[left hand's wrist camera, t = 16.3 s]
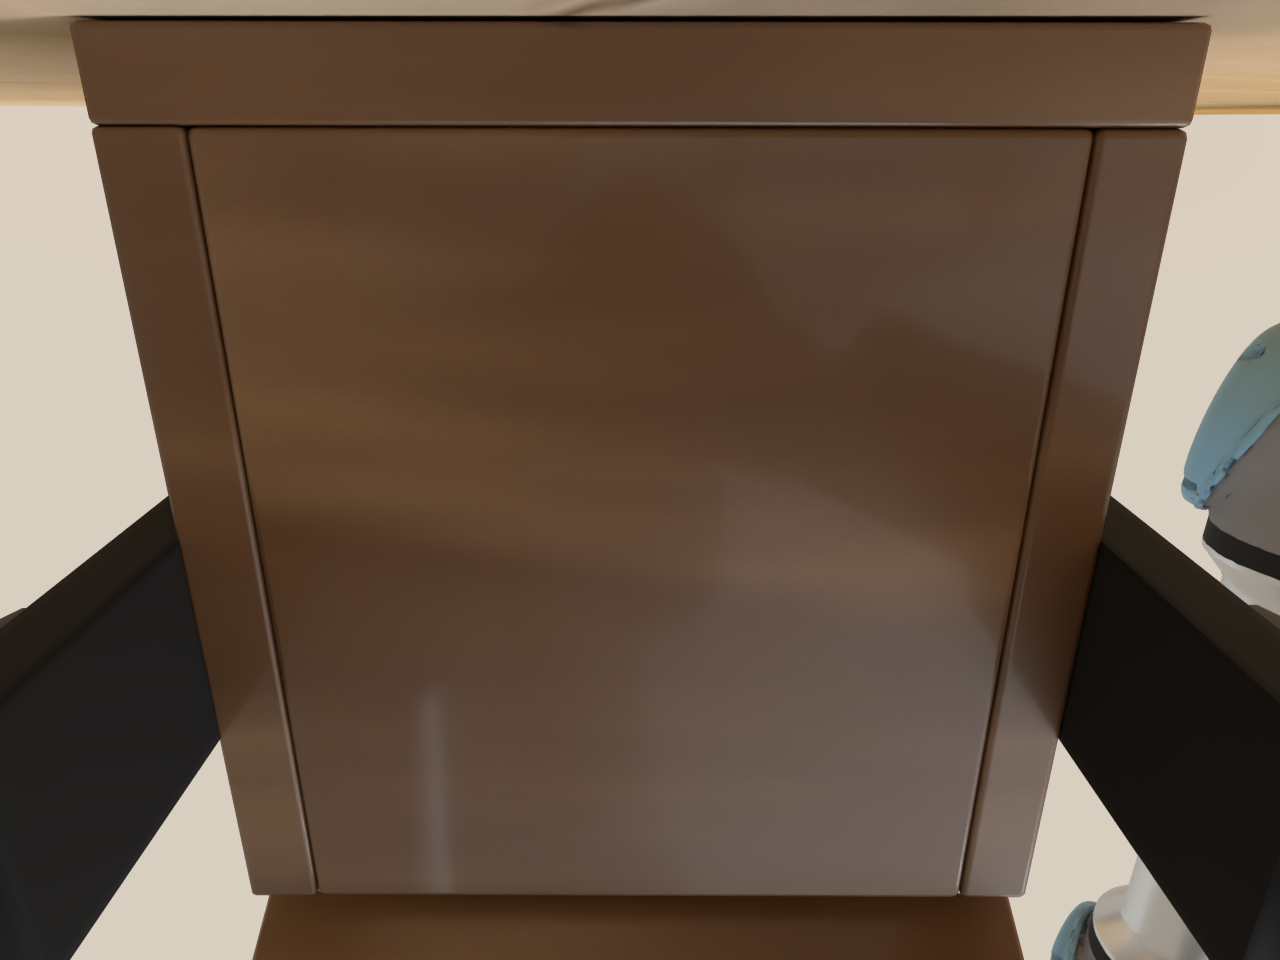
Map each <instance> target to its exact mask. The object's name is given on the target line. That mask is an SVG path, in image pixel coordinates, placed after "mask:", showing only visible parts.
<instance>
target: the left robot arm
mask: <svg viewBox="0 0 1280 960" xmlns="http://www.w3.org/2000/svg"><path fill="white" fill-rule="evenodd" d="M1058 738H1059V740H1060V741H1061V743H1062V744H1063V746H1064V747H1065V749H1066V750H1067V751H1068V753H1069V755H1070V756H1071V757H1072V759H1073V760H1074V762H1075V763H1076V765H1077V766H1078V768H1079V769H1080V771H1081V772H1082V774H1083V775H1084V777H1085V778H1086V780H1087V781H1088V782H1089V784H1090V785H1091V787H1092V788H1093V790H1094V791H1095V793H1096V794H1097V796H1098V797H1099V799H1100V800H1101V801H1102V803H1103V805H1104V806H1105V807H1106V809H1107V810H1108V812H1109V813H1110V815H1111V816H1112V818H1113V819H1114V821H1115V822H1116V824H1117V825H1118V827H1119V828H1120V830H1121V831H1122V832H1123V834H1124V835H1125V837H1126V838H1127V840H1128V841H1129V843H1130V844H1131V846H1132V847H1133V849H1134V850H1135V852H1136V853H1137V854H1138V856H1139V857H1140V859H1141V860H1142V862H1143V863H1144V865H1145V866H1146V868H1147V869H1148V871H1149V872H1150V874H1151V875H1152V877H1153V878H1154V880H1155V881H1156V882H1157V884H1158V885H1159V887H1160V888H1161V890H1162V891H1163V893H1164V894H1165V896H1166V897H1167V899H1168V900H1169V902H1170V903H1171V905H1172V906H1173V907H1174V909H1175V910H1176V912H1177V913H1178V915H1179V916H1180V918H1181V919H1182V921H1183V922H1184V924H1185V925H1186V927H1187V928H1188V930H1189V931H1190V932H1191V934H1192V935H1193V937H1194V938H1195V940H1196V941H1197V943H1198V944H1199V946H1200V947H1201V949H1202V950H1203V952H1204V953H1205V955H1206V956H1207V957H1208V959H1209V960H1280V615H1277V614H1275V613H1273V612H1271V611H1269V610H1267V609H1265V608H1263V607H1261V606H1259V605H1248V604H1247V603H1246V602H1244V601H1243V600H1242V599H1241V598H1239V597H1238V596H1237V595H1235V594H1234V593H1233V592H1232V591H1230V590H1229V589H1228V588H1227V587H1225V586H1224V585H1223V584H1222V583H1220V582H1219V581H1218V580H1216V579H1215V578H1214V577H1213V576H1211V575H1210V574H1209V573H1208V572H1206V571H1205V570H1204V569H1203V568H1201V567H1200V566H1199V565H1197V564H1196V563H1195V562H1194V561H1193V560H1191V559H1190V558H1189V557H1187V556H1186V555H1185V554H1184V553H1182V552H1181V551H1180V550H1179V549H1177V548H1176V547H1175V546H1174V545H1172V544H1171V543H1170V542H1168V541H1167V540H1166V539H1165V538H1163V537H1162V536H1161V535H1160V534H1158V533H1157V532H1156V531H1155V530H1153V529H1152V528H1151V527H1150V526H1148V525H1147V524H1146V523H1145V522H1143V521H1142V520H1141V519H1139V518H1138V517H1137V516H1136V515H1134V514H1133V513H1132V512H1131V511H1129V510H1128V509H1127V508H1125V507H1124V506H1123V505H1122V504H1121V503H1119V502H1118V501H1117V500H1115V499H1114V498H1113V497H1112V496H1110V499H1109V504H1108V509H1107V513H1106V518H1105V522H1104V527H1103V532H1102V536H1101V541H1100V546H1099V550H1098V555H1097V560H1096V564H1095V569H1094V574H1093V578H1092V583H1091V588H1090V592H1089V597H1088V602H1087V606H1086V611H1085V615H1084V620H1083V625H1082V629H1081V634H1080V639H1079V643H1078V648H1077V653H1076V657H1075V662H1074V667H1073V671H1072V676H1071V681H1070V685H1069V690H1068V695H1067V699H1066V704H1065V709H1064V713H1063V718H1062V722H1061V727H1060V732H1059V736H1058ZM219 740H220V734H219V730H218V725H217V720H216V716H215V711H214V706H213V701H212V697H211V692H210V687H209V683H208V678H207V673H206V669H205V664H204V659H203V654H202V650H201V645H200V640H199V636H198V631H197V626H196V622H195V617H194V612H193V607H192V603H191V598H190V593H189V589H188V584H187V579H186V575H185V570H184V565H183V560H182V556H181V551H180V546H179V542H178V538H177V533H176V529H175V524H174V519H173V514H172V510H171V505H170V500H169V496H167V497H166V498H165V499H164V500H162V501H161V502H160V503H159V504H157V505H156V506H155V507H154V508H152V509H151V510H150V511H148V512H147V513H146V514H145V515H143V516H142V517H141V518H140V519H138V520H137V521H136V522H135V523H133V524H132V525H131V526H130V527H128V528H127V529H126V530H124V531H123V532H122V533H121V534H119V535H118V536H117V537H116V538H114V539H113V540H112V541H111V542H109V543H108V544H107V545H105V546H104V547H103V548H102V549H100V550H99V551H98V552H97V553H95V554H94V555H93V556H92V557H90V558H89V559H88V560H86V561H85V562H84V563H83V564H82V565H80V566H79V567H78V568H76V569H75V570H74V571H73V572H71V573H70V574H69V575H68V576H66V577H65V578H64V579H62V580H61V581H60V582H59V583H57V584H56V585H55V586H54V587H52V588H51V589H50V590H49V591H47V592H46V593H45V594H44V595H42V596H41V597H40V598H39V599H37V600H36V601H35V602H33V603H32V604H31V605H30V606H28V607H27V608H22V609H20V610H17V611H15V612H13V613H11V614H9V615H7V616H5V617H3V618H1V619H0V960H70V959H71V958H72V956H73V955H74V953H75V952H76V950H77V949H78V947H79V946H80V944H81V943H82V941H83V940H84V938H85V937H86V936H87V934H88V933H89V931H90V930H91V928H92V927H93V925H94V924H95V922H96V921H97V919H98V918H99V916H100V915H101V913H102V912H103V911H104V909H105V908H106V906H107V905H108V903H109V902H110V900H111V899H112V897H113V896H114V894H115V893H116V891H117V890H118V888H119V887H120V886H121V884H122V883H123V881H124V880H125V878H126V877H127V875H128V874H129V872H130V871H131V869H132V868H133V866H134V865H135V863H136V862H137V861H138V859H139V858H140V856H141V855H142V853H143V852H144V850H145V849H146V847H147V846H148V844H149V843H150V841H151V840H152V838H153V837H154V836H155V834H156V833H157V831H158V830H159V828H160V827H161V825H162V824H163V822H164V821H165V819H166V818H167V816H168V815H169V813H170V812H171V810H172V809H173V808H174V806H175V805H176V803H177V802H178V800H179V799H180V797H181V796H182V794H183V793H184V791H185V790H186V788H187V787H188V785H189V784H190V783H191V781H192V780H193V778H194V777H195V775H196V774H197V772H198V771H199V769H200V768H201V766H202V765H203V763H204V762H205V761H206V759H207V758H208V756H209V755H210V753H211V752H212V750H213V749H214V747H215V746H216V744H217V743H218V741H219Z"/></svg>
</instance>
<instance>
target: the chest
mask: <svg viewBox="0 0 1280 960" xmlns="http://www.w3.org/2000/svg"><path fill="white" fill-rule="evenodd" d="M70 30H71V35H72V39H73V44H74V49H75V54H76V58H77V63H78V68H79V73H80V77H81V82H82V87H83V92H84V96H85V101H86V106H87V110H88V115H89V118H90V120H91V122H92V123H94V124H96V125H99V126H97V127H95V128H93V130H92V135H93V140H94V145H95V149H96V154H97V159H98V164H99V168H100V173H101V178H102V183H103V187H104V192H105V197H106V202H107V206H108V211H109V216H110V220H111V225H112V230H113V235H114V240H115V244H116V249H117V254H118V259H119V263H120V268H121V273H122V277H123V282H124V287H125V292H126V296H127V301H128V306H129V311H130V315H131V320H132V325H133V329H134V334H135V339H136V344H137V349H138V353H139V358H140V363H141V367H142V372H143V377H144V382H145V386H146V391H147V396H148V401H149V405H150V410H151V415H152V419H153V424H154V429H155V434H156V439H157V443H158V448H159V453H160V457H161V462H162V467H163V472H164V476H165V481H166V486H167V491H168V495H169V500H170V505H171V510H172V514H173V519H174V524H175V529H176V533H177V538H178V542H179V546H180V551H181V556H182V560H183V565H184V570H185V575H186V579H187V584H188V589H189V593H190V598H191V603H192V607H193V612H194V617H195V622H196V626H197V631H198V636H199V640H200V645H201V650H202V654H203V659H204V664H205V669H206V673H207V678H208V683H209V687H210V692H211V697H212V701H213V706H214V711H215V716H216V720H217V725H218V730H219V734H220V741H221V746H222V751H223V756H224V761H225V765H226V770H227V774H228V780H229V784H230V789H231V794H232V798H233V803H234V808H235V813H236V818H237V822H238V827H239V832H240V836H241V841H242V846H243V851H244V855H245V860H246V865H247V869H248V874H249V879H250V884H251V888H252V893H253V894H255V895H315V894H317V892H318V890H319V891H320V892H321V893H323V894H350V895H597V896H844V897H953V896H956V895H957V894H958V891H960V893H961V894H962V895H963V896H966V897H1021V896H1023V895H1024V894H1025V890H1026V885H1027V881H1028V876H1029V871H1030V866H1031V862H1032V857H1033V853H1034V848H1035V843H1036V839H1037V834H1038V829H1039V825H1040V820H1041V816H1042V811H1043V806H1044V802H1045V797H1046V792H1047V788H1048V783H1049V778H1050V774H1051V769H1052V764H1053V760H1054V755H1055V750H1056V746H1057V741H1058V736H1059V732H1060V727H1061V722H1062V718H1063V713H1064V709H1065V704H1066V699H1067V695H1068V690H1069V685H1070V681H1071V676H1072V671H1073V667H1074V662H1075V657H1076V653H1077V648H1078V643H1079V639H1080V634H1081V629H1082V625H1083V620H1084V615H1085V611H1086V606H1087V602H1088V597H1089V592H1090V588H1091V583H1092V578H1093V574H1094V569H1095V564H1096V560H1097V555H1098V550H1099V546H1100V541H1101V536H1102V532H1103V527H1104V522H1105V518H1106V513H1107V509H1108V504H1109V499H1110V495H1111V490H1112V485H1113V481H1114V476H1115V471H1116V467H1117V462H1118V457H1119V452H1120V448H1121V443H1122V439H1123V434H1124V429H1125V425H1126V420H1127V415H1128V411H1129V406H1130V402H1131V397H1132V392H1133V387H1134V383H1135V378H1136V374H1137V369H1138V364H1139V360H1140V355H1141V350H1142V346H1143V341H1144V336H1145V332H1146V327H1147V322H1148V318H1149V313H1150V308H1151V304H1152V299H1153V295H1154V290H1155V285H1156V281H1157V276H1158V271H1159V267H1160V262H1161V257H1162V252H1163V248H1164V243H1165V239H1166V234H1167V229H1168V225H1169V220H1170V215H1171V211H1172V206H1173V201H1174V197H1175V192H1176V188H1177V183H1178V178H1179V174H1180V169H1181V164H1182V160H1183V155H1184V150H1185V146H1186V141H1187V136H1186V132H1184V131H1183V130H1180V129H1178V128H1184V127H1186V126H1188V125H1190V123H1191V121H1192V119H1193V115H1194V110H1195V105H1196V101H1197V96H1198V91H1199V87H1200V82H1201V78H1202V73H1203V68H1204V64H1205V59H1206V54H1207V50H1208V45H1209V40H1210V36H1211V31H1212V30H1211V26H1210V25H1208V24H1206V23H1201V22H689V21H176V20H77V21H75V22H73V23H71V26H70Z"/></svg>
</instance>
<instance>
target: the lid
mask: <svg viewBox="0 0 1280 960" xmlns="http://www.w3.org/2000/svg"><path fill="white" fill-rule="evenodd" d="M252 960H1024V957H1023V954H1022V950H1021V946H1020V942H1019V938H1018V934H1017V930H1016V926H1015V922H1014V919H1013V915H1012V911H1011V907H1010V903H1009V899H1008V897H966V896H963V895H962V894H961V893H958V894H957V895H956V896H953V897H844V896H597V895H350V894H323V893H321V892H320V891H318V892H317V894H315V895H269V899H268V903H267V907H266V910H265V914H264V918H263V922H262V925H261V929H260V933H259V937H258V940H257V944H256V948H255V952H254V956H253V959H252Z"/></svg>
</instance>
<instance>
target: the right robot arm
mask: <svg viewBox="0 0 1280 960" xmlns="http://www.w3.org/2000/svg"><path fill="white" fill-rule="evenodd" d="M1184 475H1185V476H1184V479H1183V482H1182V484H1181V492H1182V495H1183V497H1184V499H1185V500H1187V501H1188V502H1190V503H1192V504H1193V505H1194V506H1195V508H1197V509H1202V510H1203V509H1204V510H1206V509H1209V516H1208V520H1207V523H1206V527H1205V530H1204V534H1203V537H1202V544H1203V547H1204V548H1205V550H1206V551H1207V552H1208V554H1209V555H1210V556H1211V558H1212V559H1213V561H1214V562H1215V563H1216V565H1217V566H1218V568H1219V569H1220V570H1221V573H1222V579H1221V582H1220V583H1222V584H1223V585H1224V586H1225V587H1227V588H1228V589H1229V590H1230V591H1232V592H1233V593H1234V594H1235V595H1237V596H1238V597H1239V598H1241V599H1242V600H1243V601H1244V602H1246V603H1247V604H1248V605H1259V606H1261V607H1263V608H1265V609H1267V610H1269V611H1271V612H1273V613H1275V614H1277V615H1280V323H1279V324H1277V325H1274V326H1272V327H1271V328H1269V329H1267V330H1266V331H1264V332H1263V333H1262V334H1260V335H1259V336H1258V337H1257V338H1256V339H1255V340H1254V341H1253V342H1252V343H1251V344H1250V345H1249V346H1248V347H1247V348H1246V349H1245V351H1244V352H1243V353H1242V354H1241V356H1240V357H1239V358H1238V360H1237V361H1236V363H1235V364H1234V365H1233V367H1232V368H1231V370H1230V371H1229V373H1228V374H1227V376H1226V377H1225V379H1224V381H1223V382H1222V384H1221V386H1220V387H1219V389H1218V391H1217V393H1216V394H1215V396H1214V398H1213V400H1212V402H1211V404H1210V406H1209V408H1208V410H1207V411H1206V414H1205V416H1204V418H1203V420H1202V422H1201V424H1200V426H1199V429H1198V431H1197V433H1196V436H1195V438H1194V441H1193V443H1192V446H1191V448H1190V451H1189V454H1188V457H1187V460H1186V463H1185V467H1184ZM1051 960H1209V959H1208V957H1207V956H1206V955H1205V953H1204V952H1203V950H1202V949H1201V947H1200V946H1199V944H1198V943H1197V941H1196V940H1195V938H1194V937H1193V935H1192V934H1191V932H1190V931H1189V930H1188V928H1187V927H1186V925H1185V924H1184V922H1183V921H1182V919H1181V918H1180V916H1179V915H1178V913H1177V912H1176V910H1175V909H1174V907H1173V906H1172V905H1171V903H1170V902H1169V900H1168V899H1167V897H1166V896H1165V894H1164V893H1163V891H1162V890H1161V888H1160V887H1159V885H1158V884H1157V882H1156V881H1155V880H1154V878H1153V877H1152V875H1151V874H1150V872H1149V871H1148V869H1147V868H1146V866H1145V865H1144V863H1143V862H1142V860H1141V859H1140V857H1139V856H1137V860H1136V863H1135V866H1134V870H1133V873H1132V876H1131V879H1130V883H1129V885H1124V886H1120V887H1115V888H1113V889H1110V890H1109V891H1107V892H1105V893H1104V894H1103V895H1102V896H1101V897H1100V898H1099V899H1098V901H1097V903H1096V902H1091V901H1086V902H1083V903H1081V904H1079V905H1078V906H1077V907H1076V908H1075V909H1074V910H1073V911H1072V912H1071V913H1070V915H1069V916H1068V917H1067V919H1066V921H1065V922H1064V924H1063V926H1062V928H1061V930H1060V932H1059V934H1058V936H1057V938H1056V940H1055V942H1054V945H1053V948H1052V954H1051Z"/></svg>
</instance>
